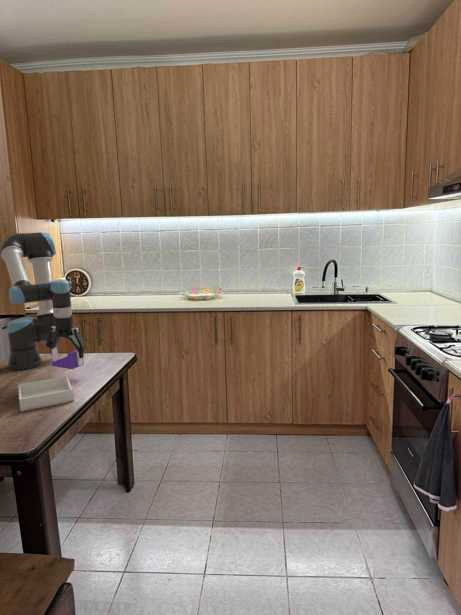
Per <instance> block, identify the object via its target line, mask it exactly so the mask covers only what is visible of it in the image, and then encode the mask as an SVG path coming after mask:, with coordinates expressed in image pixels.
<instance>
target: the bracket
mask: <svg viewBox="0 0 461 615" xmlns="http://www.w3.org/2000/svg"><path fill="white" fill-rule="evenodd" d="M76 351H78V350H77V349H76V350H73V351H71V352H68V353H66V356H65V357H62V358H60V359H59V358H58V360H57V361H54V362H53V361H52V362H51V367H57V368H62V369H67V370H68V369H69V370H74V369H78V368H79V367H81V366H83V365H85V362H84V360H83V364H82V365H80V366H78V363H77V353H76Z"/></svg>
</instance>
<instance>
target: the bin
mask: <svg viewBox="0 0 461 615" xmlns="http://www.w3.org/2000/svg"><path fill="white" fill-rule="evenodd" d="M17 386H18V400H19V407H20V410H19V411H20V412H26V411H30V410H35V409H39V408H40V409H41V408H46V407H49V406H51V407H52V406H57V405H61V404H65V403H71V402H75V400H74V399H75V397H74V389H73V387H72V384H71V382H70V379H69V377H68V375H64V376H58V377H51V378H47V379H46V378H45V379H40V380H36V381H35V380H34V381H28V382H22V383H18V385H17Z"/></svg>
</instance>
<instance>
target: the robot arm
mask: <svg viewBox="0 0 461 615" xmlns="http://www.w3.org/2000/svg"><path fill="white" fill-rule="evenodd" d="M56 252H57V251H56V245H55V242H54V239H53V237H52V235H51V234H50V233H49V232H25V233H19V232H18V233H14V234H11V235H9V236H8V237H6V238H5V239H4V240H3V241H2V244H1V245H0V256H1V260H2V261H4V262H5V266H6V269H7V272H8V275H9V279H10V282H11V283H10V284H11V286H10V287H9V289H8V290H9V291H8V292H9V300H10V302H11V303H12V304H13V305H17V304H29V303H37V304H38V306H37V307H38V312H37V314H36V318H34V317H33V316H29V315H28V316H23V317H19V318H16V319H12V320H10V321H9V322H8V323H7V326H6V327H7V332H6V333H7V336H8V344H9V357H8V360H7V367H8V369H9V370H11V371H21V370H22V371H23V370H29V369H33V368H36V367H39V366H41V365H42V364H43V361H42V359H43V358H42V356H41V355H40V353H39V351H38V348H37V343H42V342H43V343H44V342H46V343H45V347H46V348H49V351H50V356H51V360H52V362H54V361H57V360H59V356H58V355H59V354H58V347H57V344H58V343H59V341H60V340H61V339H63V338H64V339H68V340H69V341H70V343H71V344H72V345H73V346H74V348H76V350H78V351H76V353H77V363H78V366H79V367H81V366H80V365H82V364H83V361H84V357H85V356H84V350H87V348H88V346H87V343H86V342H85V340H84V338H83V336H82V333H81V331H80V327H74V326H73V325H74V318H73V316H72V315H73V310H72V309H73V308H72V300H71V299H72V298H71V287H70V283H69V281H68V280H67V279H56V280H54V278H53V277H54V276H53V270H52V269H53V268H52V263H51V262H52V261H53V260H54V256H56ZM24 258H27V261H28V262H29V263H30V264H31V266H32V272H33V279H34V284H32V281H31V279H30V275H29V274H28V270H27V267H26V264H25V262H24ZM82 366H83V365H82Z"/></svg>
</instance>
